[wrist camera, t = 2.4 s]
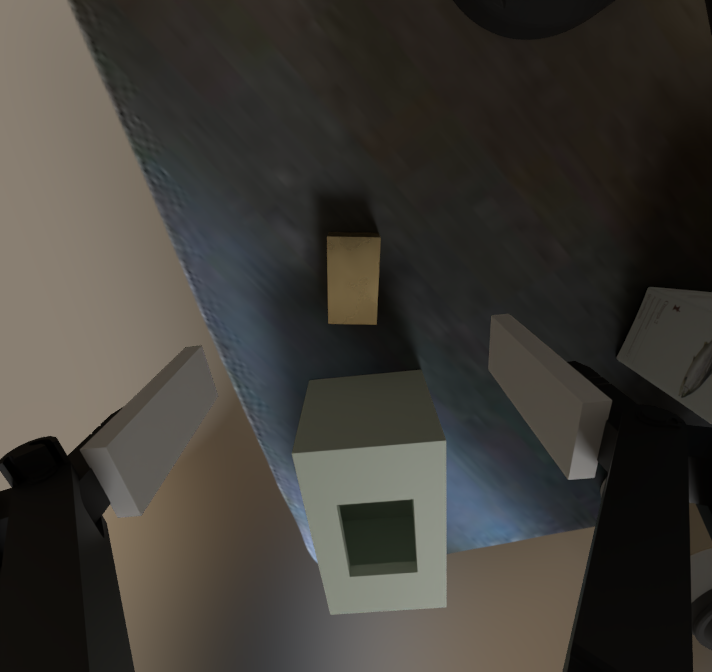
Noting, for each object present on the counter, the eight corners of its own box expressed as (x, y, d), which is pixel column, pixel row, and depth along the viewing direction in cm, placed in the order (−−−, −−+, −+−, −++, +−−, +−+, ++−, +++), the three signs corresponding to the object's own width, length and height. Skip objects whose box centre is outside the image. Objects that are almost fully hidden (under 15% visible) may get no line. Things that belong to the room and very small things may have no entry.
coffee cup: (683, 453, 38) (871, 608, 24) (659, 511, 41) (810, 675, 28) (599, 457, 38) (737, 614, 24) (582, 514, 41) (694, 678, 28)
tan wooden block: (329, 231, 28) (326, 236, 25) (378, 232, 28) (380, 237, 25) (330, 311, 31) (328, 323, 28) (374, 312, 31) (376, 324, 28)
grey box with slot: (309, 380, 34) (291, 453, 25) (421, 369, 33) (446, 440, 24) (336, 520, 42) (330, 614, 33) (426, 513, 41) (446, 607, 32)
